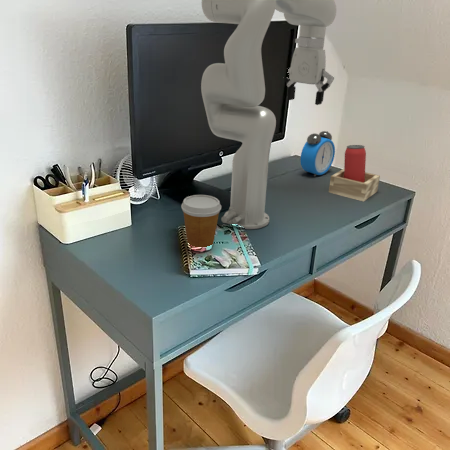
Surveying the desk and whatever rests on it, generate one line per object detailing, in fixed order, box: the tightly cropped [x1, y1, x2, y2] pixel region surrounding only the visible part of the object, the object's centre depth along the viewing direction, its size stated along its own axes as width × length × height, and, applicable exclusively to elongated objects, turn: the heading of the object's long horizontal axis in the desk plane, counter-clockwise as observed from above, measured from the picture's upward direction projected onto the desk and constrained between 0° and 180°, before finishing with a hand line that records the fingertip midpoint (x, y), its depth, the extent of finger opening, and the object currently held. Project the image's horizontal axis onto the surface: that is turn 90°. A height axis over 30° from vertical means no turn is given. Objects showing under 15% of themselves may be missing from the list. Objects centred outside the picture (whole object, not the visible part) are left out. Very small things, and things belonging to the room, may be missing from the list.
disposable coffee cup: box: [180, 194, 222, 247], centre depth 120 cm, size 10×10×12 cm
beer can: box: [343, 144, 367, 183], centre depth 161 cm, size 7×7×12 cm
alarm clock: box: [300, 130, 336, 178], centre depth 176 cm, size 13×6×15 cm, turn 135°
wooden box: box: [328, 168, 381, 203], centre depth 163 cm, size 12×12×6 cm
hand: (304, 101), depth 155 cm, fingers open, 9 cm apart
